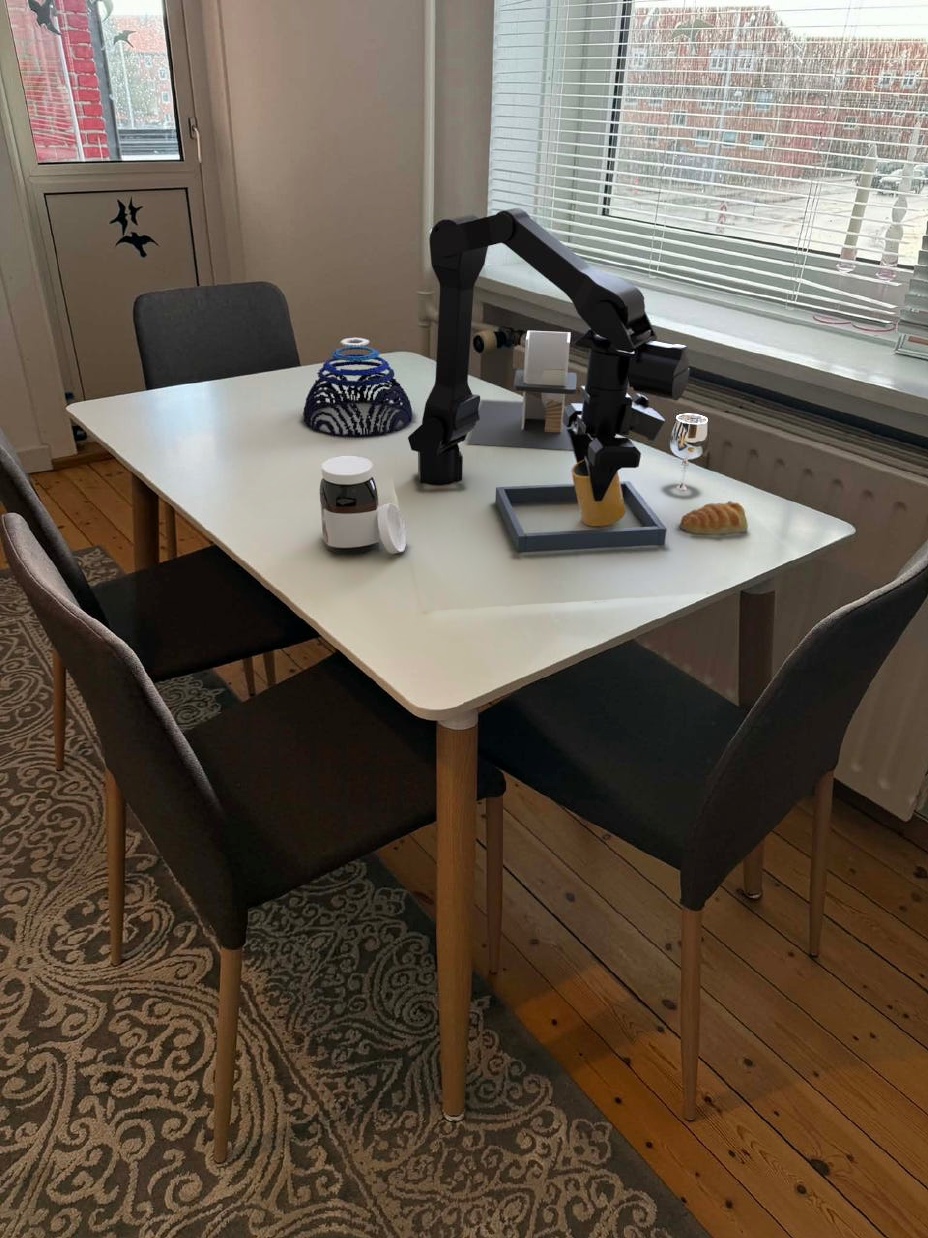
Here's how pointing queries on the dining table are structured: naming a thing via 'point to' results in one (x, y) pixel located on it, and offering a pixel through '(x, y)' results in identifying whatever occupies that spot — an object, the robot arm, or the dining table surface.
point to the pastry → (715, 519)
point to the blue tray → (582, 538)
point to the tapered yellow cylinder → (596, 510)
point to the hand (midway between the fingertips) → (591, 491)
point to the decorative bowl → (362, 382)
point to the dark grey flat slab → (533, 399)
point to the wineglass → (689, 439)
